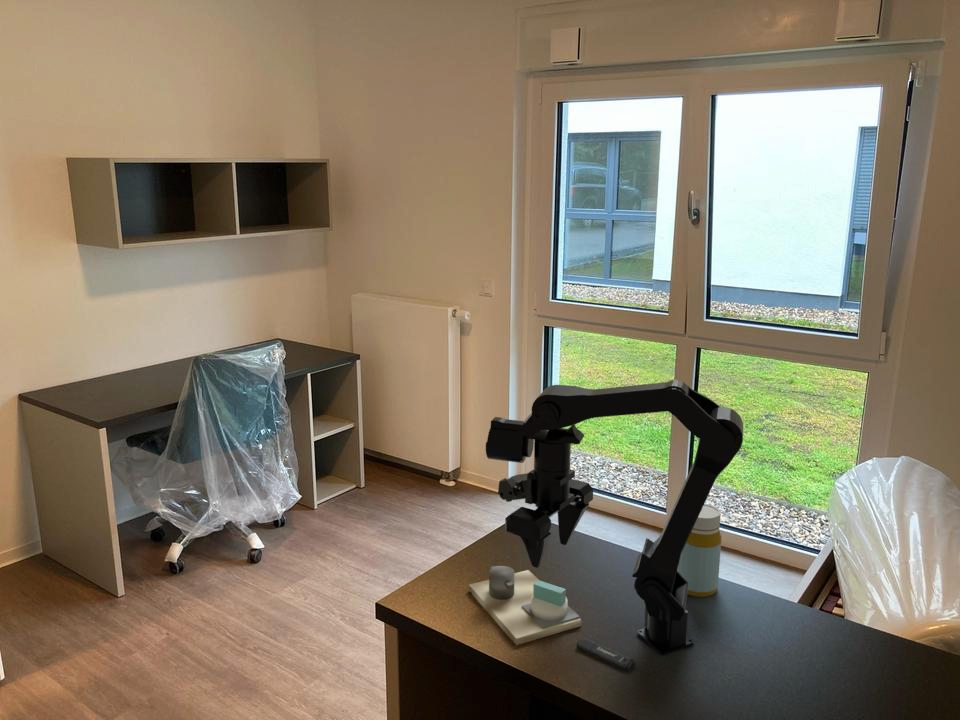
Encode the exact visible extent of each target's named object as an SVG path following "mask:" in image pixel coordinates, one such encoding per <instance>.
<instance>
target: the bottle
mask: <svg viewBox="0 0 960 720" xmlns="http://www.w3.org/2000/svg"><path fill="white" fill-rule="evenodd" d="M721 517H722V516H721V510H719V508H717V507H716V506H713V505H711V504H706V503H704V505H703V508H702V510H701V512H700V514H699V516H698V518H697V520H696V523H695V525H694V527H693V529H692V531H691V533H690V535H689V538H688V540H687V542H686V544H685V546H684V548H683V550H682V553H681V556H680V560H679V565H678V569H677V571H678V572H679V573H680V574H681V575H682V577H683V578H684V579H685V580H686V581H687V582H688V583H689V585H688V592H687V596H688V595H689V596H691V597H695V598H709V597H710V596H713V595H714V594H715V593H716V592H717V591H718V589H719V576H720V575H719V574H720V565H721V563H720V562H721V549H722V535H721V532H720V526H721V525H720V524H721Z"/></svg>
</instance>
